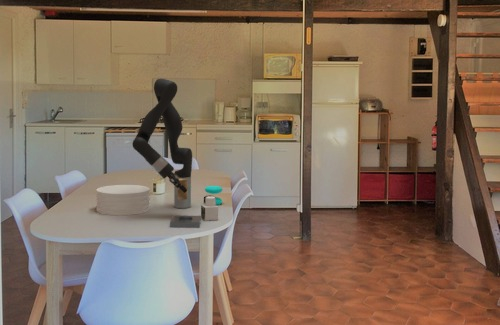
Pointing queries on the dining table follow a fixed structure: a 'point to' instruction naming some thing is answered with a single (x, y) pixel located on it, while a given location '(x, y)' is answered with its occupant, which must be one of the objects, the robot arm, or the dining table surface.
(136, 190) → the plate stack
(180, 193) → the square peg
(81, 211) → the dining table surface
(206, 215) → the medicine bottle
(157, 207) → the dining table surface
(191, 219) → the socket plate
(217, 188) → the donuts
